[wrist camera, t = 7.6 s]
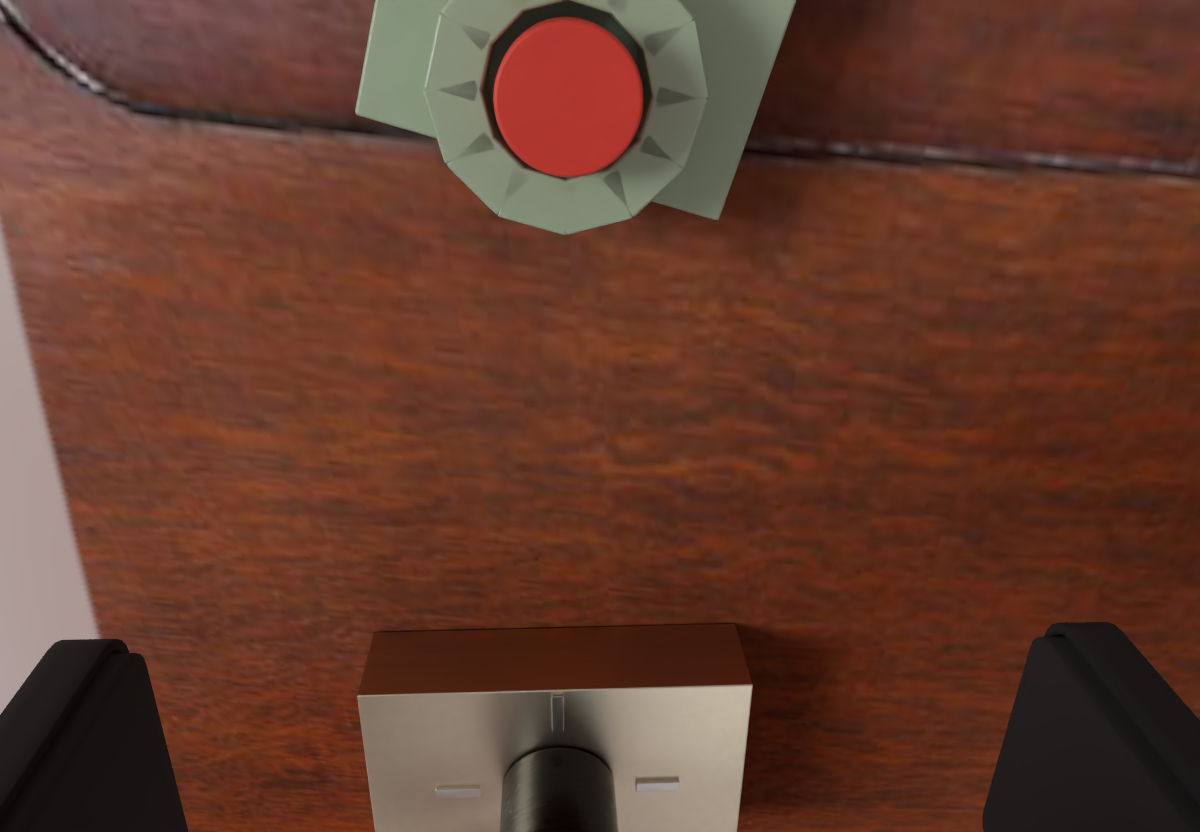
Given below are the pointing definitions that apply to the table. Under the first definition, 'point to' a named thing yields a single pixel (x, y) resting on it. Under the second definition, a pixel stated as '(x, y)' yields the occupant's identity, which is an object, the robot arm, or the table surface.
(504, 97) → the button
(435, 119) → the switch box
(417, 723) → the panel
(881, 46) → the table surface
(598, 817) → the hob knob
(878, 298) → the table surface
